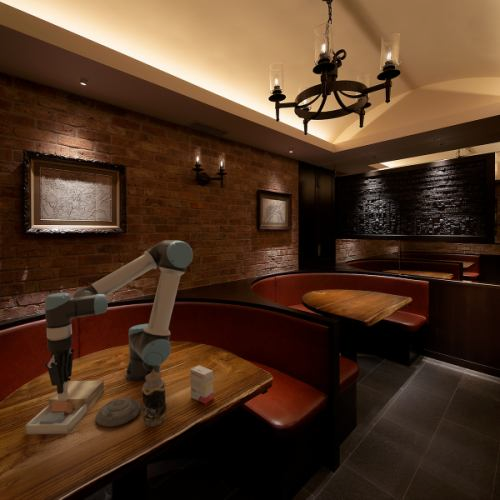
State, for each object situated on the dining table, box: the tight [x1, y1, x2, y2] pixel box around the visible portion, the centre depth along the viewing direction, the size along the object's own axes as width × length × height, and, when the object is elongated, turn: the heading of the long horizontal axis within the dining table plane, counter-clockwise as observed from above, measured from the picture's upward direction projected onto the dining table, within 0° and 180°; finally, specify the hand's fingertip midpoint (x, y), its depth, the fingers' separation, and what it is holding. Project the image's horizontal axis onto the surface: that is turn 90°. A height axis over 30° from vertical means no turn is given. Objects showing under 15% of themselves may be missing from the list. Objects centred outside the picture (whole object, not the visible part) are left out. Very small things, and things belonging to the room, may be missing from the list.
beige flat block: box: [48, 380, 105, 412], centre depth 113 cm, size 14×13×5 cm
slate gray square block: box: [39, 412, 64, 424], centre depth 98 cm, size 5×5×3 cm
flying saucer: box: [95, 397, 142, 428], centre depth 104 cm, size 15×15×6 cm
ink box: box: [189, 364, 214, 405], centre depth 114 cm, size 9×5×12 cm, turn 54°
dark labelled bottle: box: [140, 352, 168, 427], centre depth 101 cm, size 9×8×25 cm
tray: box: [24, 404, 88, 435], centre depth 100 cm, size 14×12×3 cm
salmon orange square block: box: [50, 402, 74, 414], centre depth 103 cm, size 5×5×3 cm
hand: (63, 399), depth 103 cm, fingers closed
